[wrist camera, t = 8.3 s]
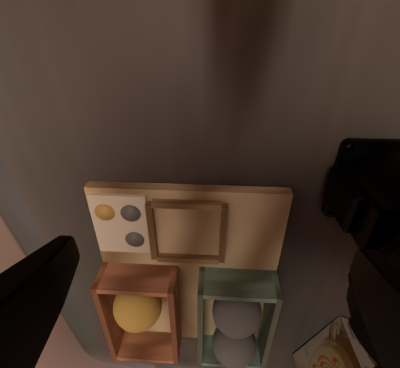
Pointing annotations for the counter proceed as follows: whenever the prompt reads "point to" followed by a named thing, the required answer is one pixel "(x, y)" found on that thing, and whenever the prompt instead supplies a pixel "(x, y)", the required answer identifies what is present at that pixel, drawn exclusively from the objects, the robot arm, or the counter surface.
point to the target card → (120, 222)
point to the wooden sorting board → (195, 266)
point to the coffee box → (333, 349)
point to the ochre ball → (136, 312)
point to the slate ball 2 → (233, 350)
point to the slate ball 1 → (237, 317)
